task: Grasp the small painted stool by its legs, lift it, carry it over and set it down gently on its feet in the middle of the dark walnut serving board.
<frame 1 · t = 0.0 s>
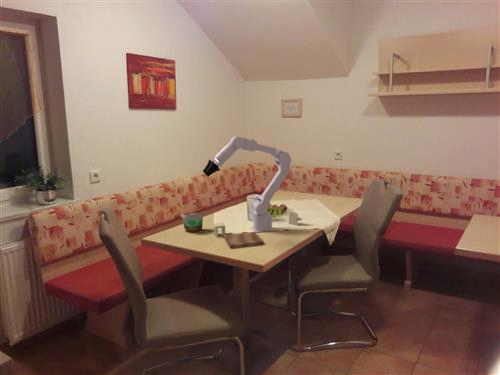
hand: (205, 174, 209), 32 cm above the table, tool tilted 50°, fingers open, 7 cm apart
syrup box: (254, 220, 241), on the table
food container: (194, 231, 223), on the table
serving board: (243, 241, 204), on the table
stool: (220, 234, 215), on the table
architectural model: (294, 225, 229), on the table
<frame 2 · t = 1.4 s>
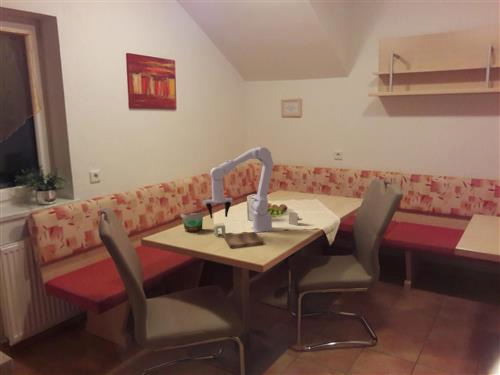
hand: (218, 217, 213), 10 cm above the table, tool pointing down, fingers open, 7 cm apart
nothing on the table moved.
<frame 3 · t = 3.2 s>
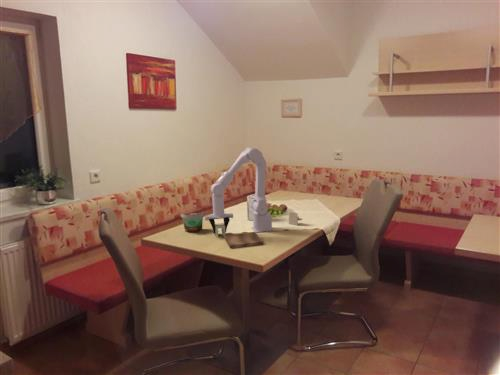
hand: (219, 232, 215), 1 cm above the table, tool pointing down, fingers closed on stool, 5 cm apart
stool: (220, 234, 215), on the table, touching gripper
everything else where it was.
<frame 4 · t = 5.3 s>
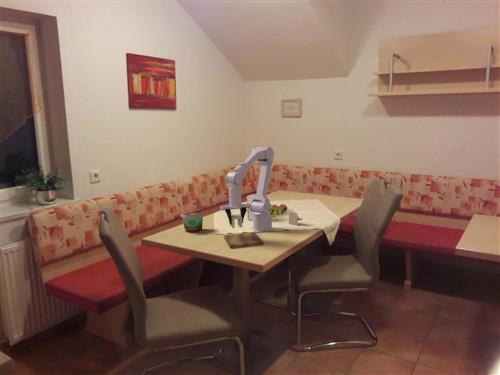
hand: (236, 223, 205), 8 cm above the table, tool pointing down, fingers closed on stool, 5 cm apart
stool: (236, 226, 206), point 7 cm above the table, touching gripper
everything else where it was.
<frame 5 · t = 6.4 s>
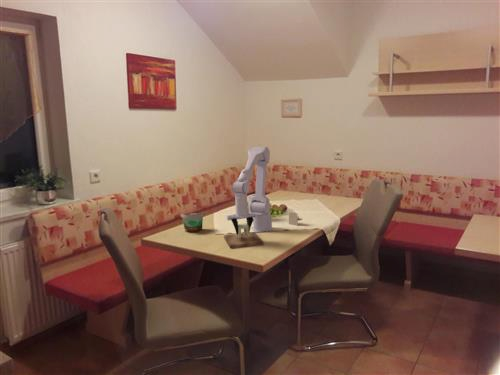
hand: (242, 232, 203), 4 cm above the table, tool pointing down, fingers closed on stool, 5 cm apart
stool: (242, 236, 204), point 3 cm above the table, touching gripper
everything else where it was.
when the fingers open (4 cm above the table, at t = 7.4 s): stool stays where it is, resting on serving board.
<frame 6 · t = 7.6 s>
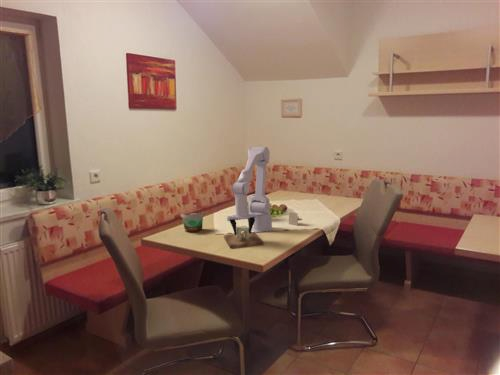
hand: (242, 233, 203), 4 cm above the table, tool pointing down, fingers open, 7 cm apart
stool: (242, 238, 204), point 1 cm above the table, touching serving board
everything else where it was.
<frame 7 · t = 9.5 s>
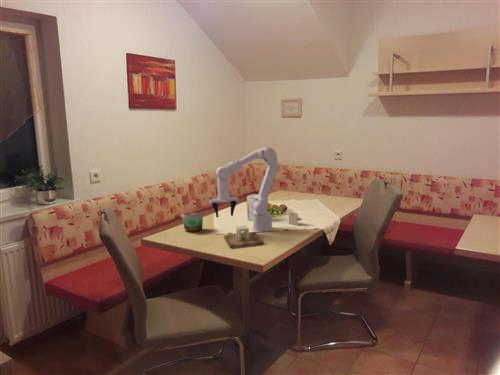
hand: (224, 216, 215), 9 cm above the table, tool pointing down, fingers open, 7 cm apart
nothing on the table moved.
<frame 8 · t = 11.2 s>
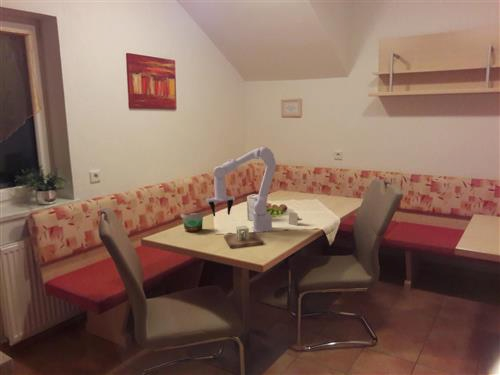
hand: (221, 215, 218), 9 cm above the table, tool pointing down, fingers open, 7 cm apart
nothing on the table moved.
at the end: stool inside the target area on the serving board (0.1 cm from its centre), point 1.5 cm above the serving board's base; stool tilted 0°; the gripper is holding nothing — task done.
